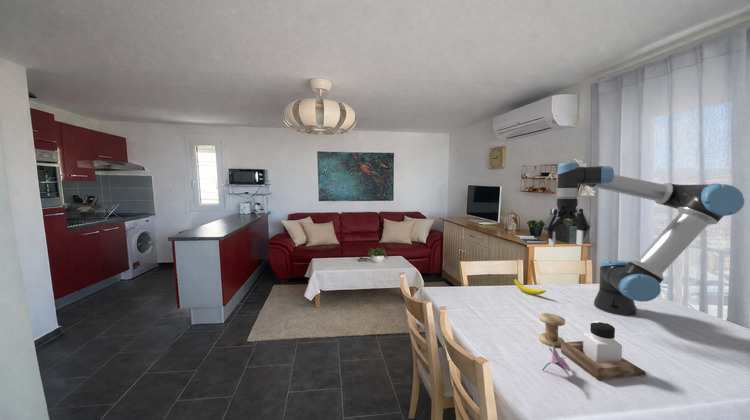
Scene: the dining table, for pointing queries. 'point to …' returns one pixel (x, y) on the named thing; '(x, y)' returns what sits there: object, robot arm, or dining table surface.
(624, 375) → the notched board
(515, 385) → the dining table surface
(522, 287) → the banana
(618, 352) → the medicine bottle
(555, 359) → the lily
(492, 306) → the dining table surface
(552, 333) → the bobbin
